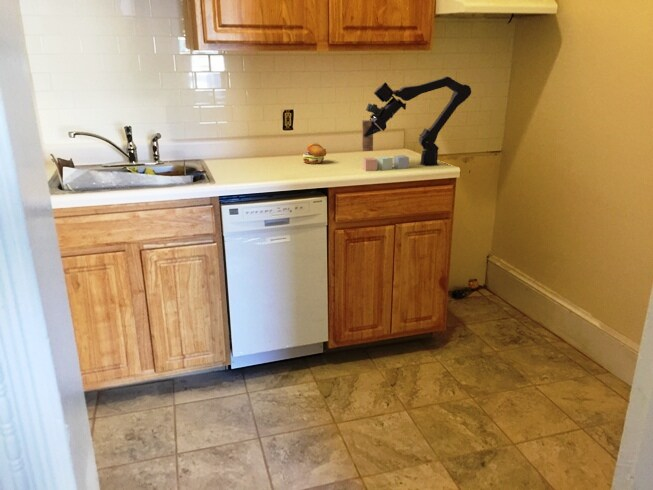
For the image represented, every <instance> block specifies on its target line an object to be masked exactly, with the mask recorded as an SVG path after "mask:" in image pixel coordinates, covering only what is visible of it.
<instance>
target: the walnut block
mask: <svg viewBox="0 0 653 490" xmlns="http://www.w3.org/2000/svg"><path fill="white" fill-rule="evenodd" d="M372 121H373V120H372ZM361 122H362V123H361V127H362V128H361V129H362V130H361V133H362V134H361V140H362V141H361V150H362V152H373V151H374V134H372V135H370V136H367V137H365V136H364V135H365V133H366V132H367V131H368V129H369V128H370V126H371V120H370V119H369V120H367V119H366V120H365V119H363V120H362V121H361Z"/></svg>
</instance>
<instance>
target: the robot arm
mask: <svg viewBox="0 0 653 490" xmlns="http://www.w3.org/2000/svg"><path fill="white" fill-rule="evenodd" d="M442 88H448V89H449V90H450V91H453V93H452V94H451V97H450V100H449V101H448V103H447V104H446V106H444V108H443V110H442V111H441V112H440V114H439V116H437V118H436V119H435V120H434V122H433V123H432V124H431V126H430V127H429V128H424V129H422V130H423V131H422V132H421V134H419V135H418V136H419V138H418V143H419V145H420V146H421V147H422V148H423V149H422V153H421V154H420V155H421V156H420V158H421V159H420V164H421V165H423V166H425V167H426V166H427V167H428V165H429V166H435V165H434V164H439V163H438V158H439V157H438V155H439V146H438V145H437V144H436V141H437V138H438V136H439V133H440V131H441V130H442V129H443V128H444V126H445V125H446V124H447V122H448V121H449V120H450V118H451V117H452V115H453V114H454V112H455V111H456V110H457V108H458V107H459V106H460V105H461V104H463V103H465V101H466V100H467V99H468V98H469V97H471V94H472V87H471V86H469V84H464V83H460V82H458V81H457V80H454V79H453V78H452V77H450V76H443V77H441V78H437V79H435V80H431V81H428V82H425V83H421V84H417V85H416V84H415V85H408V86H407V85H406V86H401V87H400V88H399V89H397V90H395V89H394V90H393V89H392V88H391V87H390V86H389V85H388V83H387V82H385V81H384V82H383V84H381V85H380V86H378V88H376V90H375V91H374V92H373V94H374V95H375V96H376V98H377V99H379V101H381V102H382V103H384V102H385V103H386V104H385V105H384V106H381V107H378V105H377V104H376V103H373V104H372V103H368V104H367V106H366V109H365V111H367V112H369V113H371V115H369V117H370V118H369V120H371V126H370V128H369V129H368V131H367V132H366V133H365V135H364V136H365V137H367V136H370V135H372V134H373V135H374V134H376V133H379V132H384V131H385V130H386V129H387V123H388V122H389V120H391V119H393V118H394V115H395V114H396V113H398V111H400V110H401V108H402V109H403V110H404V111H405V110H406V109H407V107H406V106H407V103H406V102H407V101H411V100H412V99H415V98H417V97H419V95H423V94H425V93H428V92H432V91H435V90H438V89H442ZM394 96H395V97H394ZM403 101H405V102H403ZM372 120H373V121H372Z"/></svg>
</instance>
